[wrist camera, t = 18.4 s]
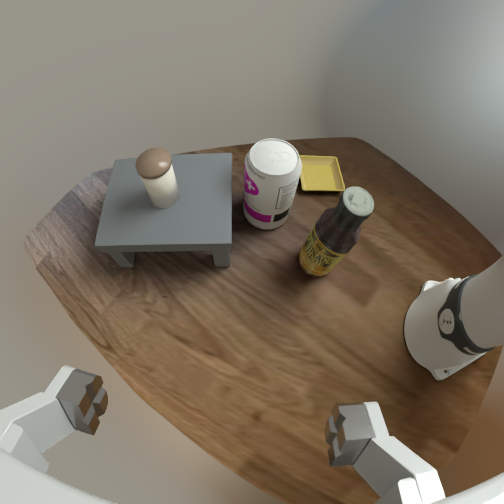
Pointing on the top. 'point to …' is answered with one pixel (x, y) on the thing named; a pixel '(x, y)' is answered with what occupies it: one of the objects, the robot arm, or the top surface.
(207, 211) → the footstool
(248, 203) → the supplement can
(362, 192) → the sauce bottle
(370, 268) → the top surface
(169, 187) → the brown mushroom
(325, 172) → the yellow shallow tray
